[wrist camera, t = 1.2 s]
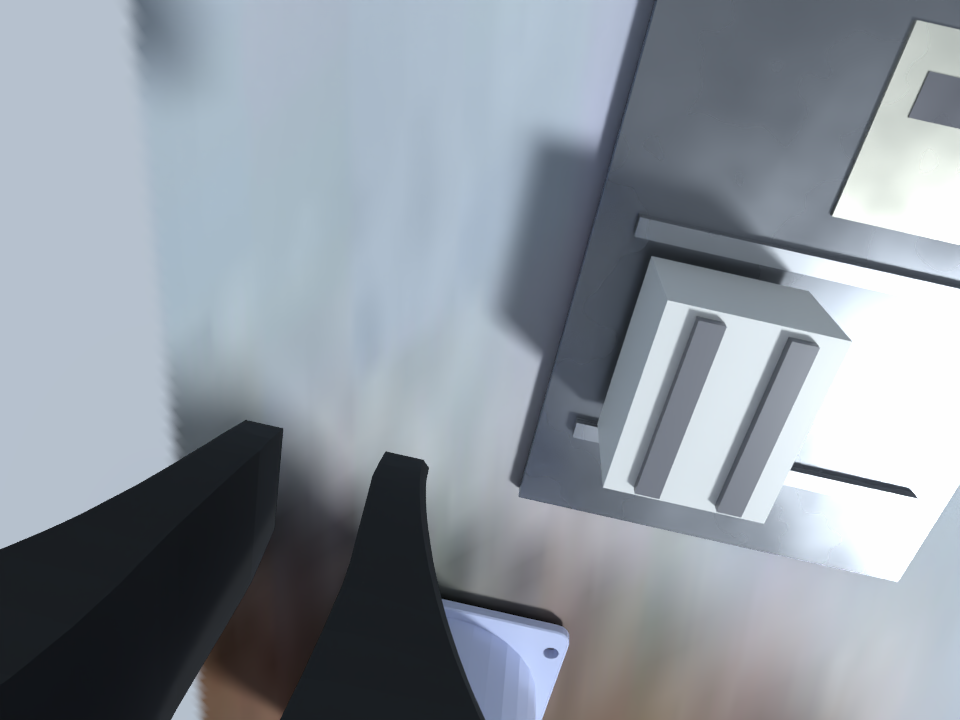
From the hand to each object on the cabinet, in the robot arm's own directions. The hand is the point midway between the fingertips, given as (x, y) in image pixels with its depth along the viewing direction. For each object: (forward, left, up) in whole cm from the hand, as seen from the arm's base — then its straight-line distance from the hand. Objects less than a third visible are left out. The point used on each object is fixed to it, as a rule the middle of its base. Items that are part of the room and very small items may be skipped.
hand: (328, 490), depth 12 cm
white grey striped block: (0, -8, -9) cm, 12 cm away
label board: (+2, -10, -9) cm, 14 cm away
